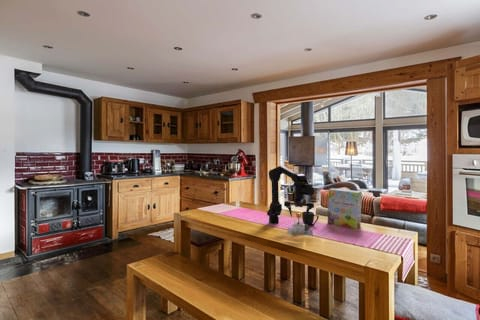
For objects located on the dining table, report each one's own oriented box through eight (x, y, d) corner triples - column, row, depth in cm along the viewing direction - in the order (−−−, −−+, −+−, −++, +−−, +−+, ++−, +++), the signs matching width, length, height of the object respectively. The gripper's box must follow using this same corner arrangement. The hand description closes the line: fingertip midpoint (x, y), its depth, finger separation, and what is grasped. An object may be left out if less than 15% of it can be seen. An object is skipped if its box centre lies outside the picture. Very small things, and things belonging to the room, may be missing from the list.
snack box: (326, 223, 199) (327, 189, 199) (331, 221, 206) (332, 188, 205) (357, 229, 186) (358, 192, 185) (361, 226, 192) (362, 190, 192)
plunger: (294, 226, 174) (294, 214, 173) (294, 224, 179) (294, 212, 178) (302, 227, 172) (302, 214, 172) (302, 225, 177) (302, 212, 177)
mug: (314, 229, 184) (314, 215, 184) (299, 225, 193) (299, 212, 193) (320, 227, 190) (321, 213, 190) (305, 223, 199) (306, 210, 198)
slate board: (286, 234, 171) (287, 233, 171) (287, 229, 184) (287, 227, 184) (313, 236, 167) (313, 235, 167) (312, 230, 180) (312, 229, 180)
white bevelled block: (292, 232, 173) (292, 224, 173) (292, 229, 180) (292, 221, 180) (308, 233, 171) (308, 225, 170) (307, 230, 178) (307, 222, 178)
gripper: (283, 194, 169) (283, 219, 170) (314, 196, 165) (314, 221, 166) (284, 192, 180) (284, 215, 181) (313, 193, 176) (313, 217, 176)
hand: (298, 217), depth 175 cm, fingers open, 9 cm apart
